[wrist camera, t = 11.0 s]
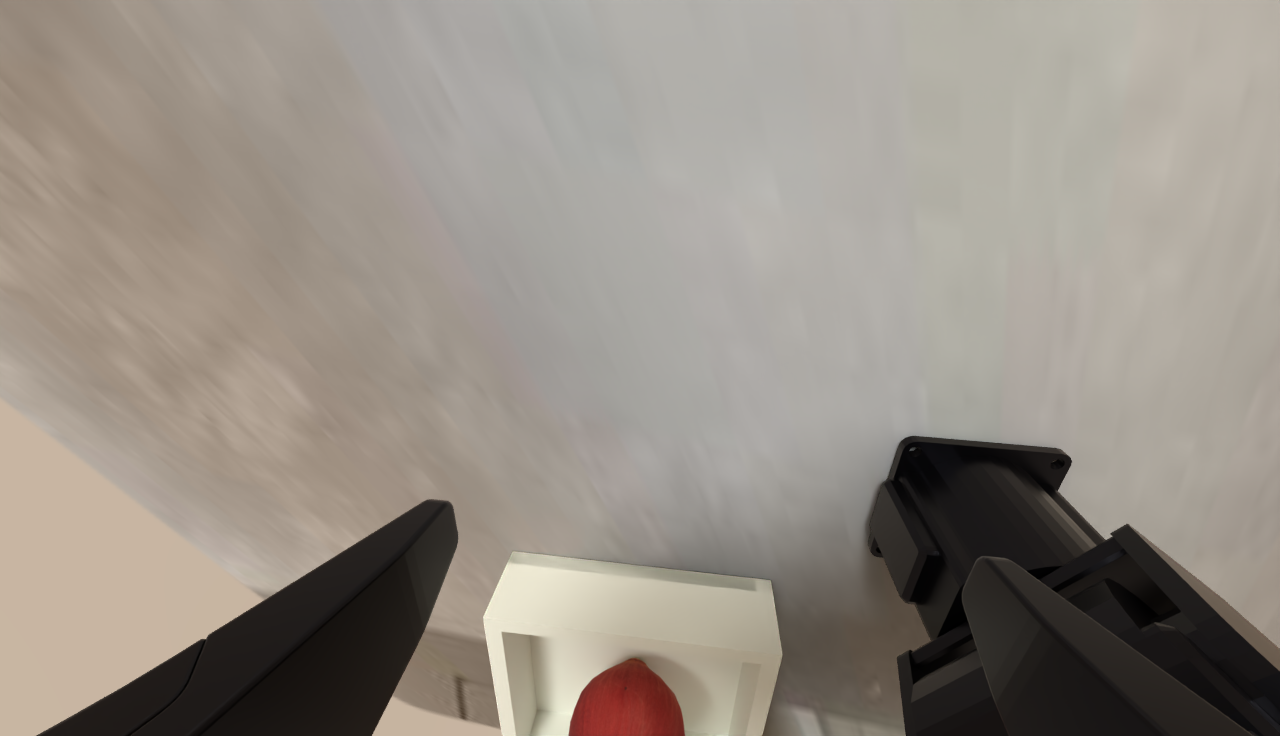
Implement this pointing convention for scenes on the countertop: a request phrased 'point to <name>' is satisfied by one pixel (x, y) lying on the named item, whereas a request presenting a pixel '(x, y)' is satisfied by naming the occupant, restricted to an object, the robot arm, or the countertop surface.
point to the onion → (627, 704)
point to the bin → (630, 641)
